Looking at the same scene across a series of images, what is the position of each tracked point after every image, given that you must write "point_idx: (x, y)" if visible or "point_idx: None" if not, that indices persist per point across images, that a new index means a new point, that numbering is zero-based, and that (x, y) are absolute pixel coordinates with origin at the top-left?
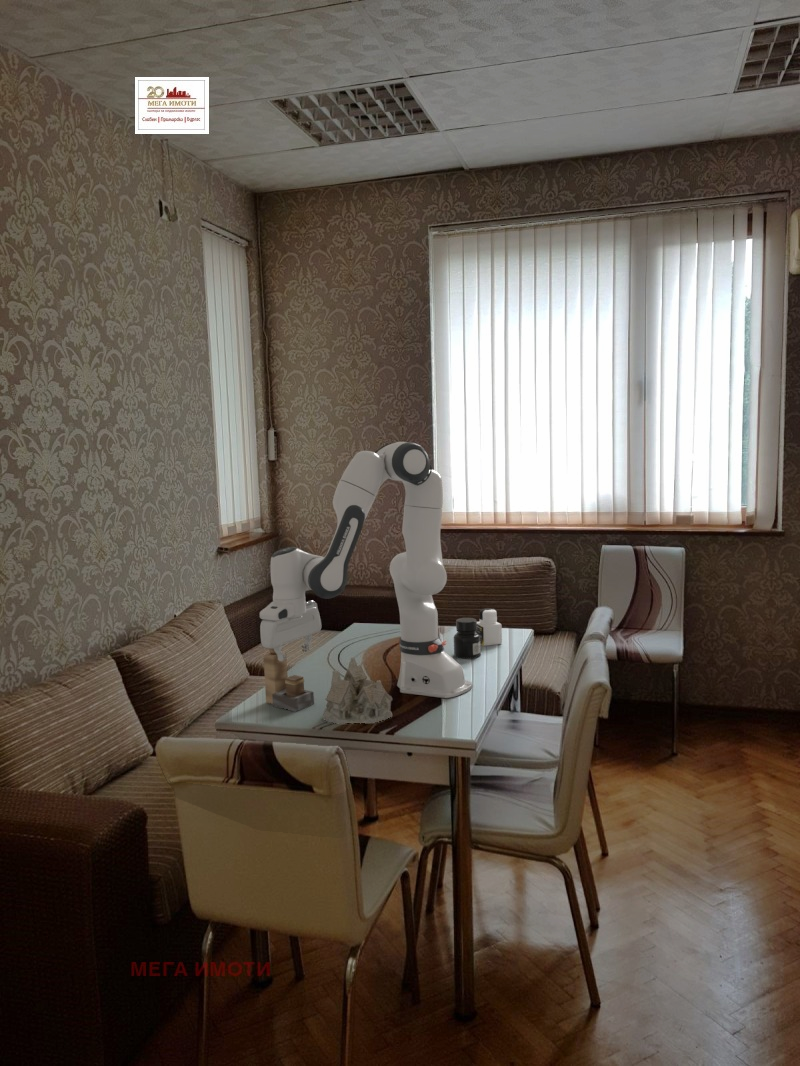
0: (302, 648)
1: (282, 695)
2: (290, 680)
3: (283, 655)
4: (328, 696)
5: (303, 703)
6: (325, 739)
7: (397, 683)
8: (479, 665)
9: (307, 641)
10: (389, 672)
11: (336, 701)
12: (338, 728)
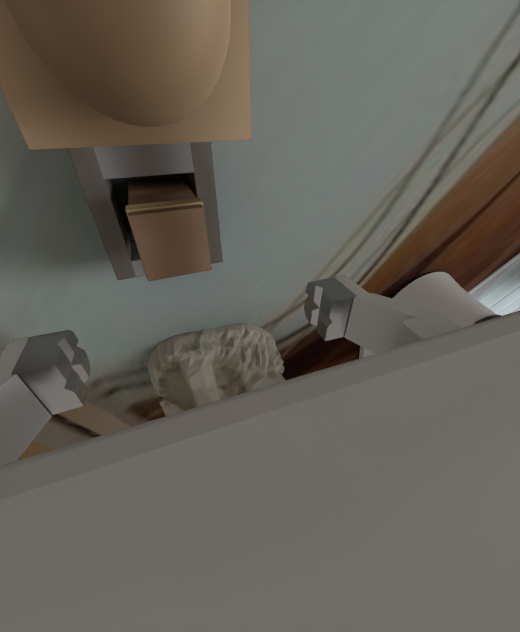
0: (320, 288)
1: (99, 196)
2: (140, 251)
3: (50, 408)
4: (169, 409)
5: None
6: (82, 437)
7: (405, 289)
8: (505, 302)
9: (373, 335)
10: (486, 201)
11: None
12: (143, 406)
